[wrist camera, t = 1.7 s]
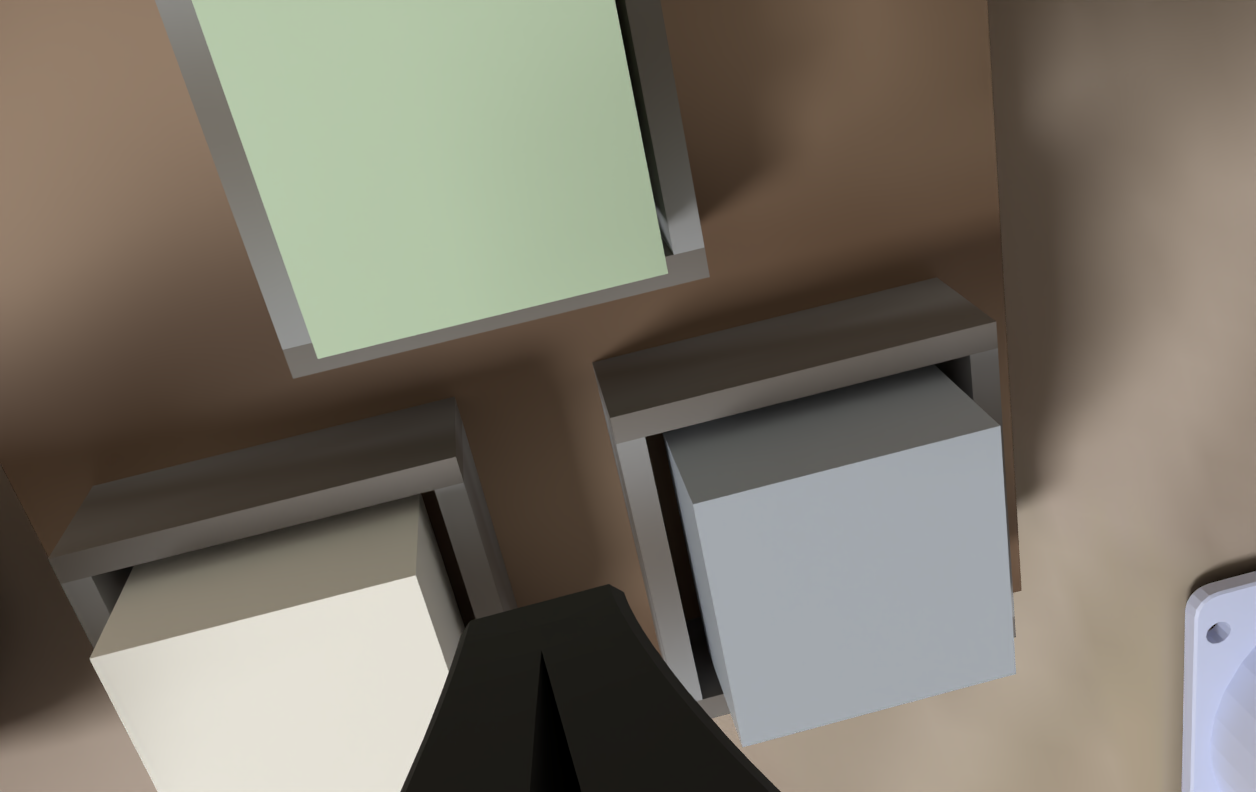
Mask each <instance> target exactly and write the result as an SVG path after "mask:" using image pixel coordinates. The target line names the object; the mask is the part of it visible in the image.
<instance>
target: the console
mask: <svg viewBox="0 0 1256 792" xmlns="http://www.w3.org/2000/svg"><path fill="white" fill-rule="evenodd" d="M615 4H616V9H617V14H618V19H619V24H620V29H621V34H622V39H623V45H624V50H625V55H626V60H627V65H628V70H629V75H630V80H631V85H632V91H633V96H634V101H635V106H636V111H637V116H638V121H639V126H640V132H641V137H642V142H643V147H644V152H645V157H646V162H647V167H648V172H649V178H650V183H651V188H652V193H653V198H654V203H655V208H656V213H657V219H658V224H659V229H660V234H661V239H662V244H663V249H664V254H665V259H666V265H667V270H668V274H664V275H660V276H656V277H652V278H648V279H644V280H640V281H636V282H632V283H627V284H623V285H619V286H615V287H611V288H607V289H603V290H599V291H595V292H591V293H586V294H582V295H578V296H574V297H570V298H566V299H562V300H558V301H554V302H550V303H545V304H541V305H537V306H533V307H529V308H525V309H521V310H517V311H513V312H509V313H504V314H500V315H496V316H492V317H488V318H484V319H480V320H476V321H472V322H468V323H463V324H459V325H455V326H451V327H447V328H443V329H439V330H435V331H431V332H427V333H422V334H418V335H414V336H410V337H406V338H402V339H398V340H394V341H390V342H386V343H381V344H377V345H373V346H369V347H365V348H361V349H357V350H353V351H349V352H345V353H340V354H336V355H332V356H328V357H324V358H320V359H318V358H317V355H316V353H315V350H314V347H313V344H312V341H311V338H310V335H309V333H308V330H307V327H306V324H305V321H304V318H303V316H302V313H301V310H300V307H299V304H298V301H297V299H296V296H295V293H294V290H293V287H292V284H291V281H290V279H289V276H288V273H287V270H286V267H285V264H284V262H283V259H282V256H281V253H280V250H279V247H278V244H277V242H276V239H275V236H274V233H273V230H272V227H271V225H270V222H269V219H268V216H267V213H266V210H265V208H264V205H263V202H262V199H261V196H260V193H259V190H258V188H257V185H256V182H255V179H254V176H253V173H252V171H251V168H250V165H249V162H248V159H247V156H246V154H245V151H244V148H243V145H242V142H241V139H240V136H239V134H238V131H237V128H236V125H235V122H234V119H233V117H232V114H231V111H230V108H229V105H228V102H227V99H226V97H225V94H224V91H223V88H222V85H221V82H220V80H219V77H218V74H217V71H216V68H215V65H214V63H213V60H212V57H211V54H210V51H209V48H208V45H207V43H206V40H205V37H204V34H203V31H202V28H201V26H200V23H199V20H198V17H197V14H196V11H195V9H194V6H193V3H192V0H0V464H1V466H2V468H3V470H4V472H5V474H6V476H7V477H8V479H9V481H10V483H11V485H12V487H13V489H14V491H15V493H16V495H17V497H18V499H19V501H20V503H21V505H22V507H23V509H24V511H25V513H26V515H27V517H28V519H29V521H30V523H31V525H32V527H33V529H34V530H35V532H36V534H37V536H38V538H39V540H40V542H41V544H42V546H43V548H44V550H45V552H46V554H47V556H48V560H49V562H50V564H51V566H52V568H53V570H54V572H55V574H56V576H57V578H58V580H59V582H60V584H61V586H62V588H63V590H64V592H65V594H66V596H67V598H68V600H69V602H70V603H71V605H72V607H73V609H74V611H75V613H76V615H77V617H78V619H79V621H80V623H81V625H82V627H83V629H84V631H85V633H86V635H87V637H88V639H89V641H90V643H91V645H92V647H93V649H94V648H95V646H96V644H97V642H98V640H99V638H100V636H101V634H102V631H103V629H104V627H105V625H106V623H107V621H108V619H109V617H110V615H111V613H112V611H113V609H114V606H115V604H116V602H117V600H118V598H119V596H120V594H121V592H122V590H123V588H124V586H125V583H126V581H127V579H128V577H129V575H130V573H131V571H132V569H133V567H134V566H135V565H138V564H142V563H146V562H150V561H154V560H158V559H162V558H166V557H170V556H174V555H178V554H182V553H186V552H190V551H194V550H198V549H202V548H206V547H210V546H214V545H218V544H222V543H226V542H230V541H234V540H238V539H242V538H246V537H250V536H254V535H258V534H262V533H266V532H270V531H274V530H277V529H281V528H285V527H289V526H293V525H297V524H301V523H305V522H309V521H313V520H317V519H321V518H325V517H329V516H333V515H337V514H341V513H345V512H349V511H353V510H357V509H361V508H365V507H369V506H373V505H377V504H381V503H385V502H389V501H393V500H397V499H401V498H405V497H409V496H413V495H416V494H420V493H421V495H422V498H423V501H424V504H425V507H426V510H427V513H428V517H429V520H430V523H431V526H432V529H433V532H434V535H435V538H436V541H437V544H438V547H439V550H440V553H441V556H442V559H443V562H444V566H445V569H446V572H447V575H448V578H449V581H450V584H451V587H452V590H453V593H454V596H455V599H456V602H457V605H458V608H459V611H460V615H461V618H462V621H463V624H464V627H465V628H466V626H467V625H468V623H469V622H470V621H471V620H475V619H478V618H482V617H486V616H490V615H493V614H497V613H501V612H505V611H509V610H512V609H516V608H520V607H524V606H527V605H531V604H535V603H539V602H542V601H546V600H550V599H554V598H558V597H561V596H565V595H569V594H573V593H576V592H580V591H584V590H588V589H591V588H595V587H599V586H603V585H607V584H610V585H612V586H614V587H616V588H617V589H619V590H621V591H623V592H624V593H625V596H626V599H627V601H628V604H629V606H630V608H631V610H632V612H633V613H634V615H635V617H636V619H637V621H638V622H639V624H640V626H641V627H642V629H643V631H644V632H645V634H646V635H647V637H648V638H649V640H650V641H651V643H652V644H653V646H654V647H655V649H656V650H657V651H658V653H659V654H660V655H661V657H662V658H663V660H664V661H665V662H666V664H667V665H668V666H669V668H670V669H671V671H672V672H673V673H674V674H675V676H676V677H677V678H678V679H679V681H680V682H681V683H682V685H683V686H684V687H685V688H686V690H687V691H688V692H689V693H690V694H691V695H692V697H693V698H694V699H695V700H696V701H697V702H698V704H699V705H700V706H701V707H702V708H703V709H704V711H705V712H706V713H707V714H708V715H709V716H710V717H711V718H715V717H718V716H722V715H726V714H730V710H729V708H728V705H727V702H726V699H725V696H724V693H723V691H722V688H721V685H720V682H719V679H718V677H717V674H716V671H715V668H714V665H713V662H712V660H711V657H710V654H709V651H708V646H707V642H706V637H705V632H704V628H703V623H702V618H701V613H700V609H699V604H698V599H697V595H696V590H695V585H694V580H693V576H692V571H691V566H690V561H689V557H688V552H687V547H686V543H685V538H684V533H683V528H682V524H681V519H680V514H679V510H678V505H677V500H676V495H675V491H674V486H673V481H672V476H671V472H670V467H669V462H668V458H667V453H666V448H665V443H664V439H663V434H662V433H663V432H667V431H671V430H675V429H679V428H683V427H687V426H691V425H694V424H698V423H702V422H706V421H710V420H714V419H718V418H722V417H726V416H730V415H734V414H738V413H742V412H746V411H750V410H754V409H758V408H762V407H766V406H770V405H774V404H778V403H782V402H786V401H790V400H794V399H798V398H802V397H806V396H810V395H814V394H818V393H822V392H826V391H830V390H834V389H837V388H841V387H845V386H849V385H853V384H857V383H861V382H865V381H869V380H873V379H877V378H881V377H885V376H889V375H893V374H897V373H901V372H905V371H909V370H913V369H917V368H921V367H925V366H929V365H933V364H934V365H935V366H936V367H937V368H939V369H940V370H941V371H942V372H943V373H944V374H945V375H946V376H947V377H948V378H949V379H950V380H951V381H953V382H954V383H955V384H956V385H957V386H958V387H959V388H960V389H961V390H962V391H963V392H964V393H966V394H967V395H968V396H969V397H970V398H971V399H972V400H973V401H974V402H975V403H976V404H977V405H978V406H980V407H981V408H982V409H983V410H984V411H985V412H986V413H987V414H988V415H989V416H990V417H991V418H993V419H994V420H995V421H996V422H997V423H998V424H999V425H1000V428H1001V443H1002V459H1003V475H1004V491H1005V507H1006V523H1007V539H1008V555H1009V571H1010V586H1011V602H1012V618H1013V634H1014V637H1016V633H1015V617H1014V601H1013V593H1014V592H1017V591H1021V575H1020V557H1019V540H1018V523H1017V506H1016V488H1015V471H1014V454H1013V436H1012V419H1011V402H1010V385H1009V367H1008V350H1007V333H1006V316H1005V298H1004V281H1003V264H1002V246H1001V229H1000V212H999V195H998V177H997V160H996V143H995V126H994V108H993V91H992V74H991V56H990V39H989V22H988V5H987V0H615Z"/></svg>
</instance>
